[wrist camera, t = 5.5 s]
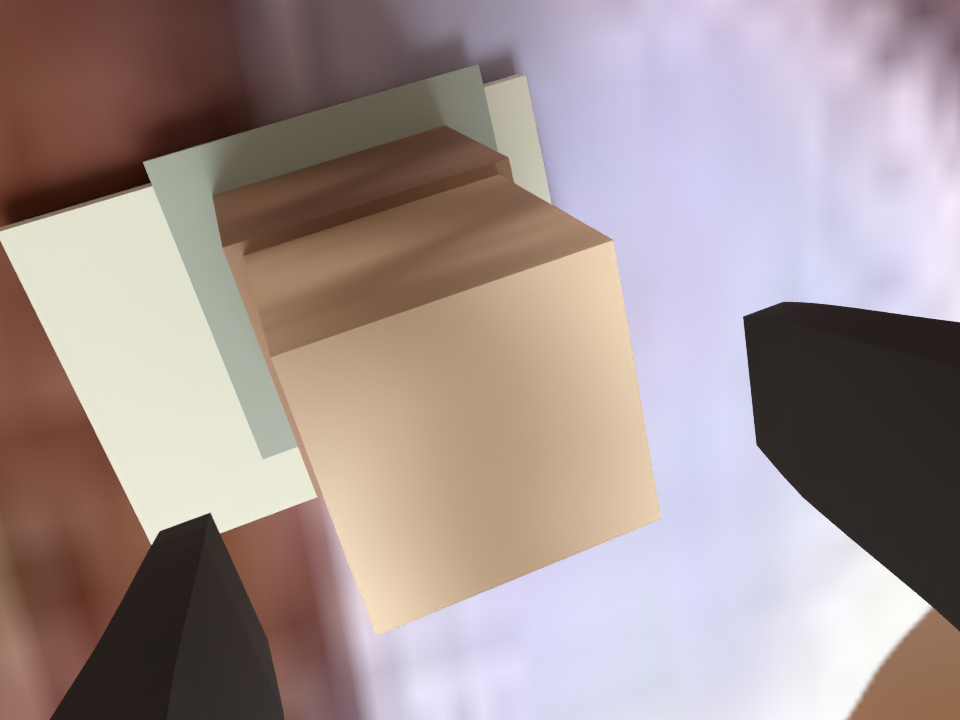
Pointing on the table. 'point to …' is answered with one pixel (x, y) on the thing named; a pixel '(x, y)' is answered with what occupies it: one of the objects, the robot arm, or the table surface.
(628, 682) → the table surface
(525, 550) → the maple cube
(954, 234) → the table surface
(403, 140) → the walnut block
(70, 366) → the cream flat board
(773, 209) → the table surface
